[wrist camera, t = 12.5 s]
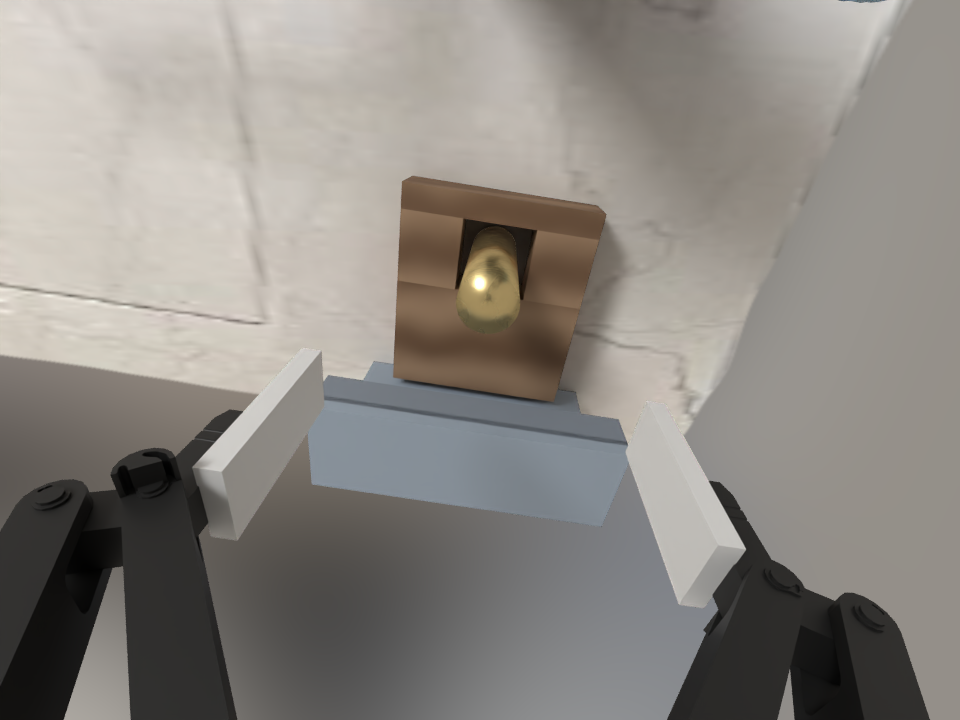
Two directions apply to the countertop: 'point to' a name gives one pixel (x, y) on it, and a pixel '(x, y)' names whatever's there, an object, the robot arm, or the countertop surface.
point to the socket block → (436, 280)
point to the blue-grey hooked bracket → (467, 447)
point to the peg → (490, 283)
